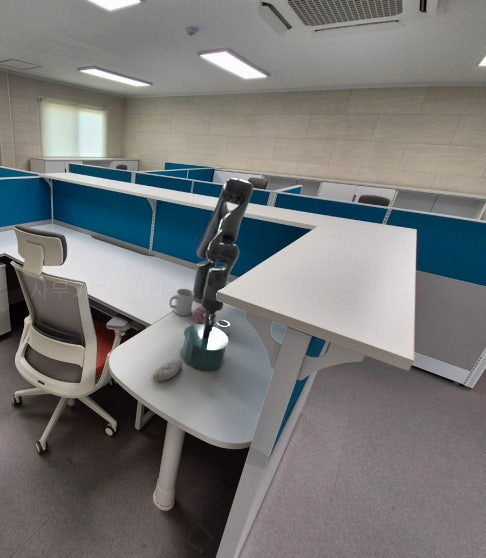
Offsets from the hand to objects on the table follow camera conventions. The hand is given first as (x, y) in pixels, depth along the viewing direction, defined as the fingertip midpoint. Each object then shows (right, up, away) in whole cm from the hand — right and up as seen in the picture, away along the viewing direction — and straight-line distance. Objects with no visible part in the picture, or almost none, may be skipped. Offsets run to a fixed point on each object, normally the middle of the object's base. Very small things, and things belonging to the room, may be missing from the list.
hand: (206, 334), depth 117 cm
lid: (0, -1, +1) cm, 1 cm away
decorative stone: (-16, -14, -5) cm, 22 cm away
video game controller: (+7, +2, +31) cm, 32 cm away
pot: (0, -10, +5) cm, 11 cm away
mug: (-3, +5, +36) cm, 37 cm away
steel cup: (+13, -3, +21) cm, 25 cm away
